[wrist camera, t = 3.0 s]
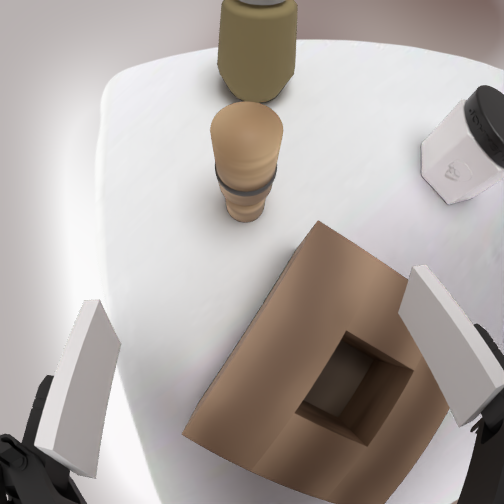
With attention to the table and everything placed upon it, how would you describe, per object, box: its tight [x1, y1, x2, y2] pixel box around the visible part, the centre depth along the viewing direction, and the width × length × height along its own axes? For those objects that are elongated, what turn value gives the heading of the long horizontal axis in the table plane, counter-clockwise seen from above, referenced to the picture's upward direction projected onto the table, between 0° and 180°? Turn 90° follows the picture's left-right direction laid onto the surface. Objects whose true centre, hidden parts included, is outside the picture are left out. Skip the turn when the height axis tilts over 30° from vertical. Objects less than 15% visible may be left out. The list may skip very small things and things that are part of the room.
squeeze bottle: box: [217, 0, 297, 103], centre depth 22 cm, size 8×8×18 cm
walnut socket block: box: [182, 221, 450, 504], centre depth 21 cm, size 16×16×8 cm
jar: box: [421, 85, 504, 204], centre depth 23 cm, size 9×8×12 cm
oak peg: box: [210, 101, 283, 222], centre depth 22 cm, size 4×4×12 cm
